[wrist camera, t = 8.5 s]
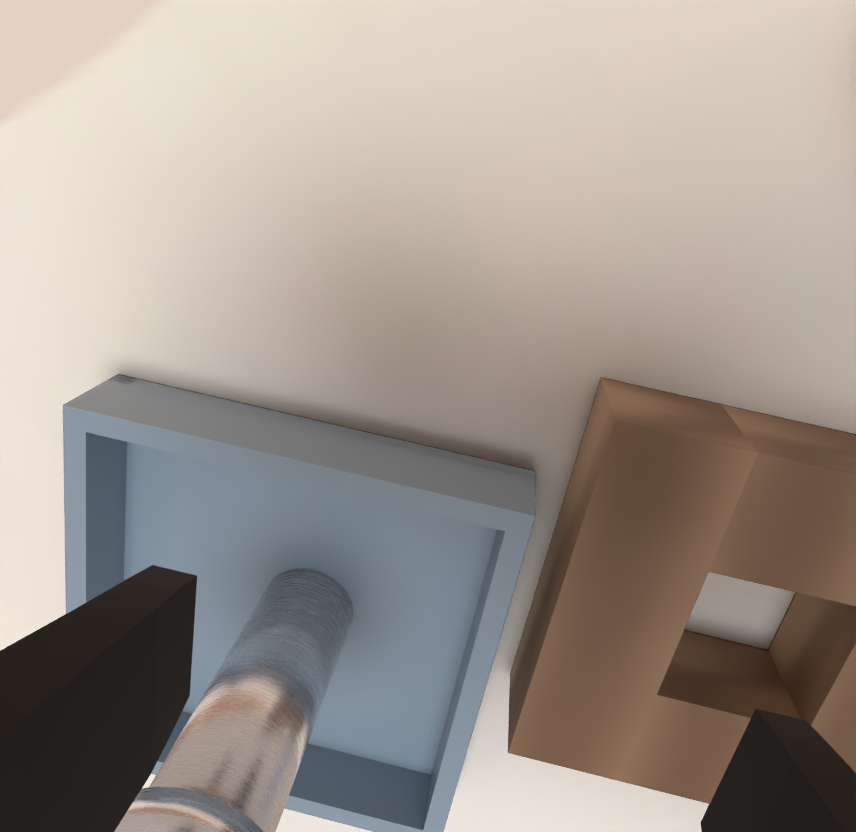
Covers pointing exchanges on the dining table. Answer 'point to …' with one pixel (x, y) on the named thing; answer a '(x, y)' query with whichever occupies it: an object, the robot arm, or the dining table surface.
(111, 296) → the dining table surface
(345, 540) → the tray
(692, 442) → the pin block
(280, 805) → the lock pin
